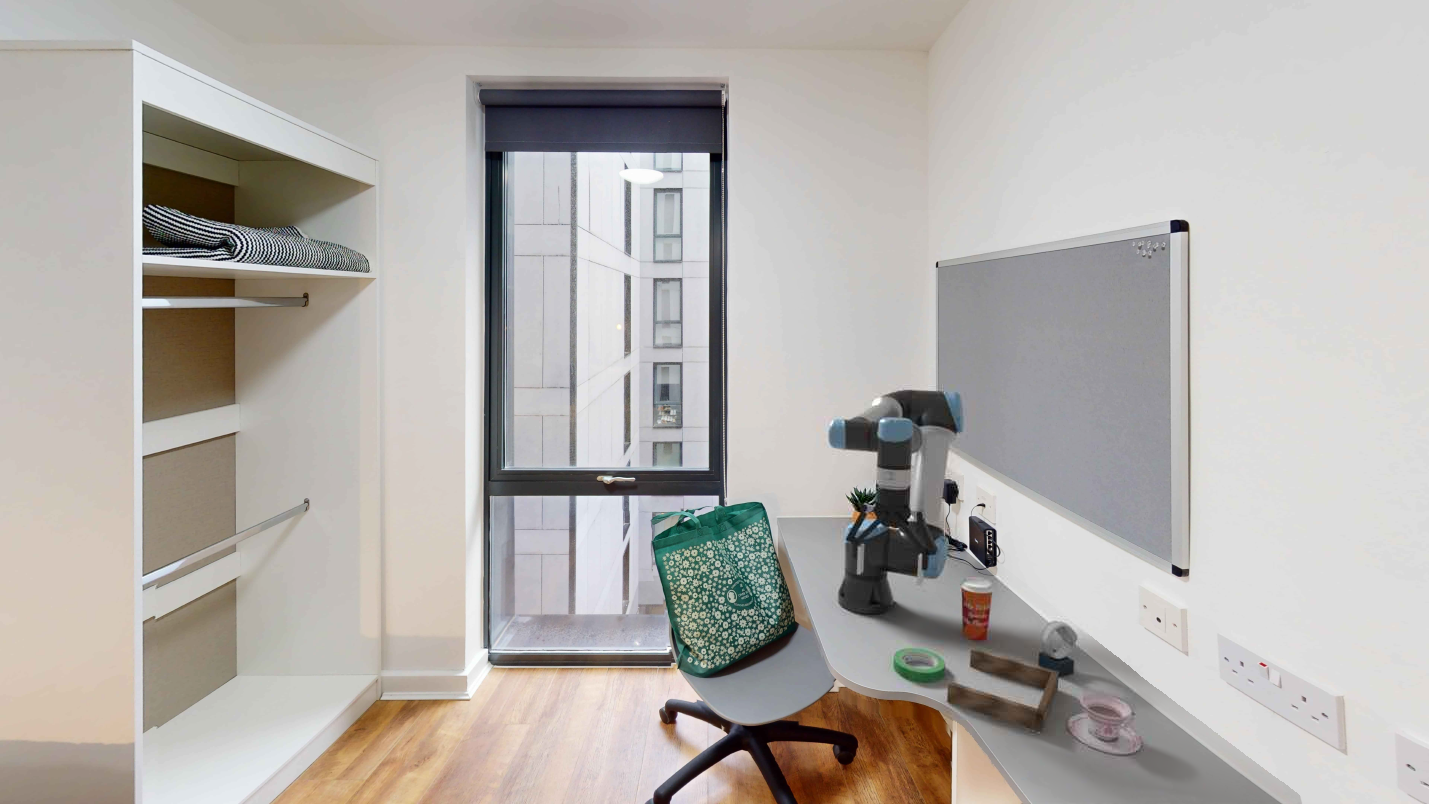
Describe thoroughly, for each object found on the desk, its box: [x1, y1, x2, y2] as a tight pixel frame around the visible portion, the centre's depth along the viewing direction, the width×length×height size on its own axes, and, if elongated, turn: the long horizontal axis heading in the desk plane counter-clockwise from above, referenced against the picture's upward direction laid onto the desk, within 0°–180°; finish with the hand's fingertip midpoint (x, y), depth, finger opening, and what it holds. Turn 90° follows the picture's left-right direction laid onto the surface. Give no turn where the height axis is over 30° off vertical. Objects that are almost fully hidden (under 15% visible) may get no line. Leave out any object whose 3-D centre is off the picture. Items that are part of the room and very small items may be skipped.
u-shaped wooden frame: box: [946, 647, 1060, 734], centre depth 134 cm, size 18×18×4 cm
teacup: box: [1067, 693, 1142, 756], centre depth 122 cm, size 12×12×6 cm
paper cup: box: [959, 576, 995, 642], centre depth 160 cm, size 8×8×14 cm
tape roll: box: [893, 647, 946, 684], centre depth 145 cm, size 11×11×3 cm
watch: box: [1037, 620, 1079, 678], centre depth 144 cm, size 6×8×11 cm
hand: (889, 578), depth 147 cm, fingers open, 13 cm apart
